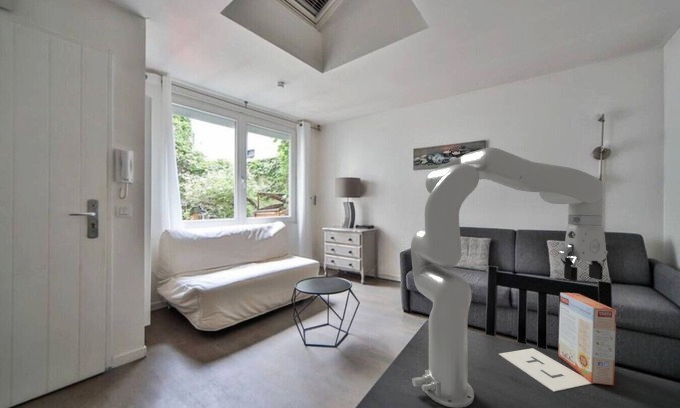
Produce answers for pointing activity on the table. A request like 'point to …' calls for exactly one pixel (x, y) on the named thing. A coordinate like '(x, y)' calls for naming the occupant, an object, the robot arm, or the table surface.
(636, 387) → the table surface
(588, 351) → the cracker box
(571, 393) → the table surface
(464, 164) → the robot arm
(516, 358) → the tile
